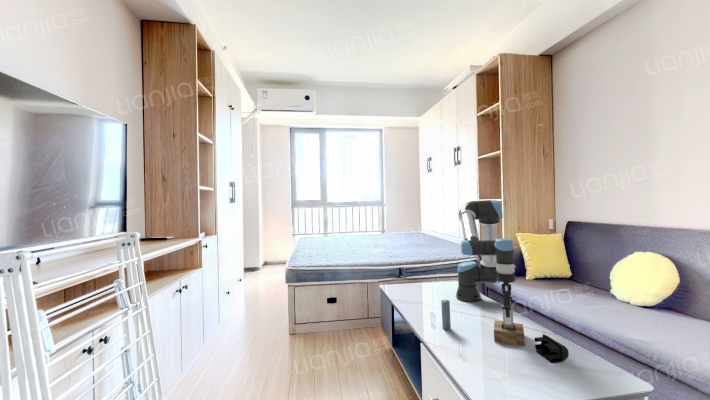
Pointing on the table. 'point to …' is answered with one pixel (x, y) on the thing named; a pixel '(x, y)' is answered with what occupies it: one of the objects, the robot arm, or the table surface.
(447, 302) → the round peg
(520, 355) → the table surface
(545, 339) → the end cap
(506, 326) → the square peg
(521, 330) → the socket block
